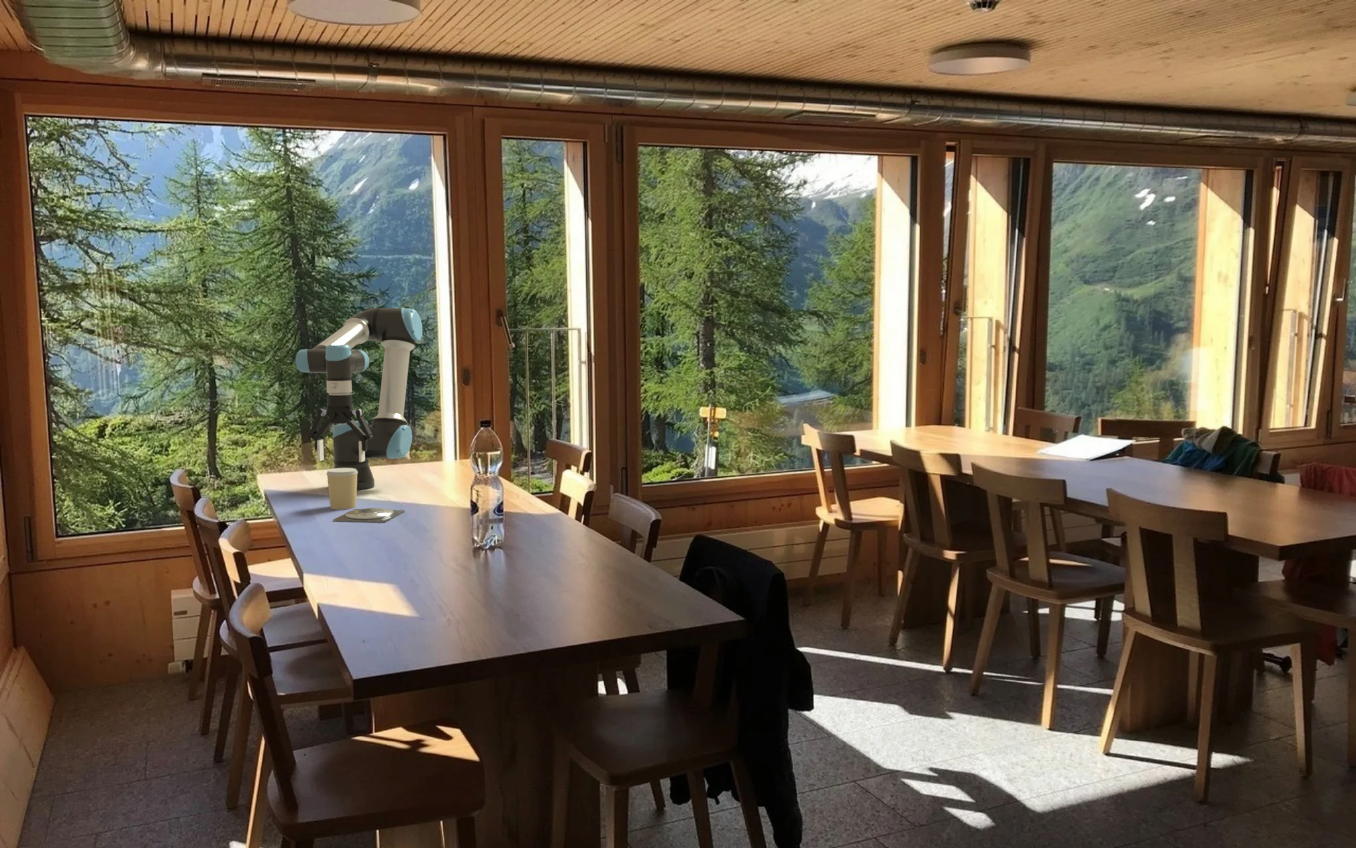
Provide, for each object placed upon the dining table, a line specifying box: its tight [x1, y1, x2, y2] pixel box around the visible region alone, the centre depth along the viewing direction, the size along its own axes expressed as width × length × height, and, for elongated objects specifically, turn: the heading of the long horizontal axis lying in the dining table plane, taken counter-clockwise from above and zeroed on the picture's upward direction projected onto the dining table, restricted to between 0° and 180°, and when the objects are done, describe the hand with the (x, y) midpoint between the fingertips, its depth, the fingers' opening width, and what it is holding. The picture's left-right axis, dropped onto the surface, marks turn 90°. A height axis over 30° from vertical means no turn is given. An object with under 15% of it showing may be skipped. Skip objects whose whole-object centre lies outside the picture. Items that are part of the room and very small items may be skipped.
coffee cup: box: [326, 468, 358, 511], centre depth 332 cm, size 9×9×12 cm
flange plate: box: [332, 507, 406, 524], centre depth 319 cm, size 16×16×1 cm
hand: (341, 461), depth 331 cm, fingers open, 13 cm apart
